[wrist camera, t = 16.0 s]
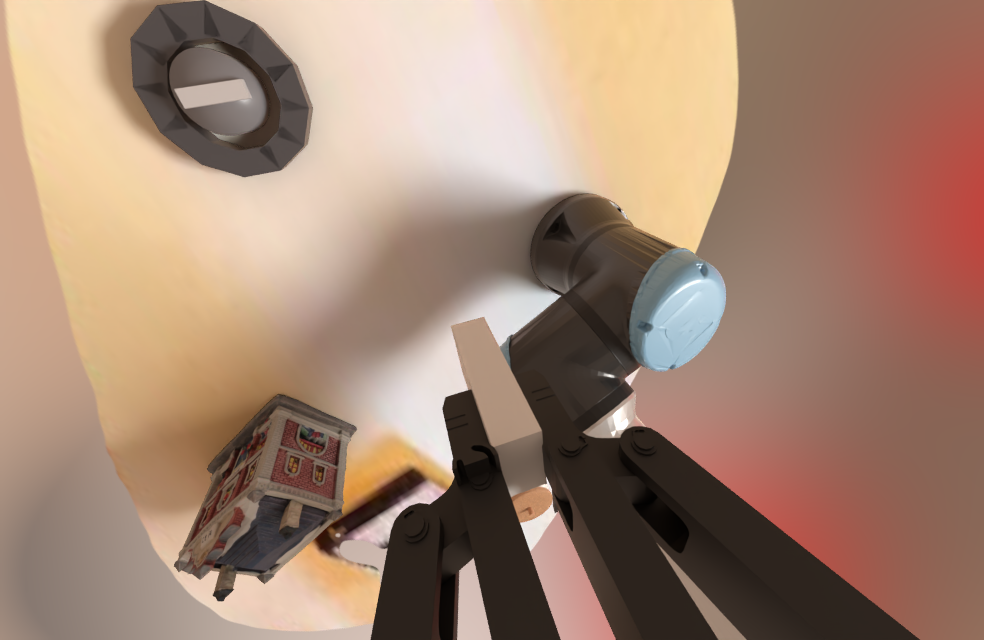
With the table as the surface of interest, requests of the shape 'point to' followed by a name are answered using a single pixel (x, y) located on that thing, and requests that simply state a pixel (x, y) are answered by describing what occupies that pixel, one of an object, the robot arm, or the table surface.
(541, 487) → the lidded jar
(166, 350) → the table surface
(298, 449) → the model building
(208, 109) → the cap
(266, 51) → the faceted gray torus
